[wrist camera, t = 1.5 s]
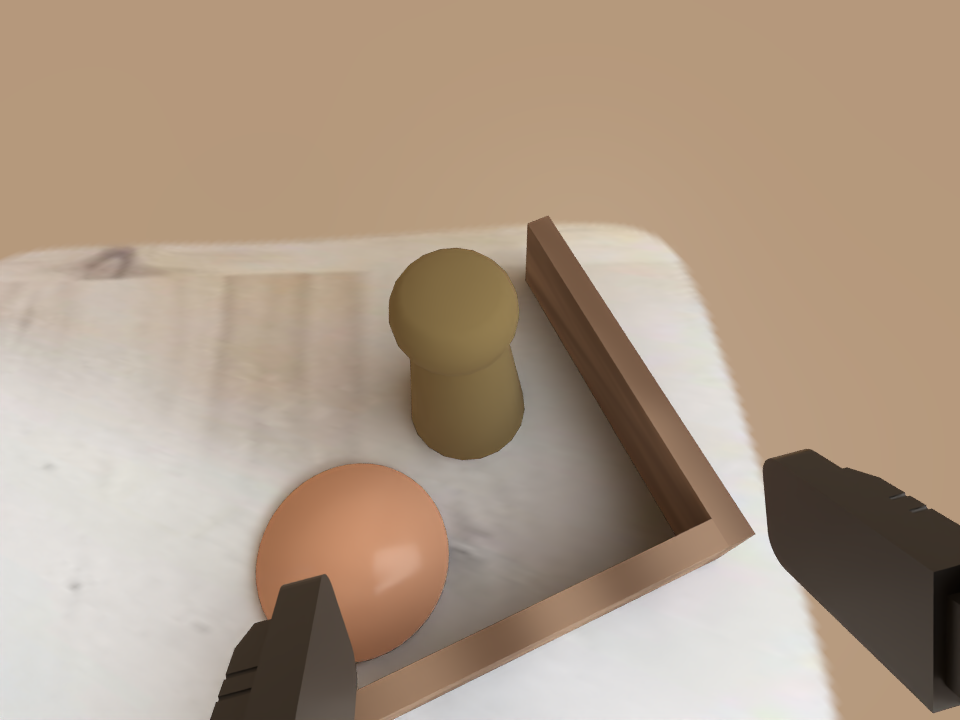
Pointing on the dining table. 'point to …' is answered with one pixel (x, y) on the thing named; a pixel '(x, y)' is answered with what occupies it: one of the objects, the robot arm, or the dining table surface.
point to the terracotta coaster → (360, 552)
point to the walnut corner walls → (653, 450)
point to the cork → (459, 351)
